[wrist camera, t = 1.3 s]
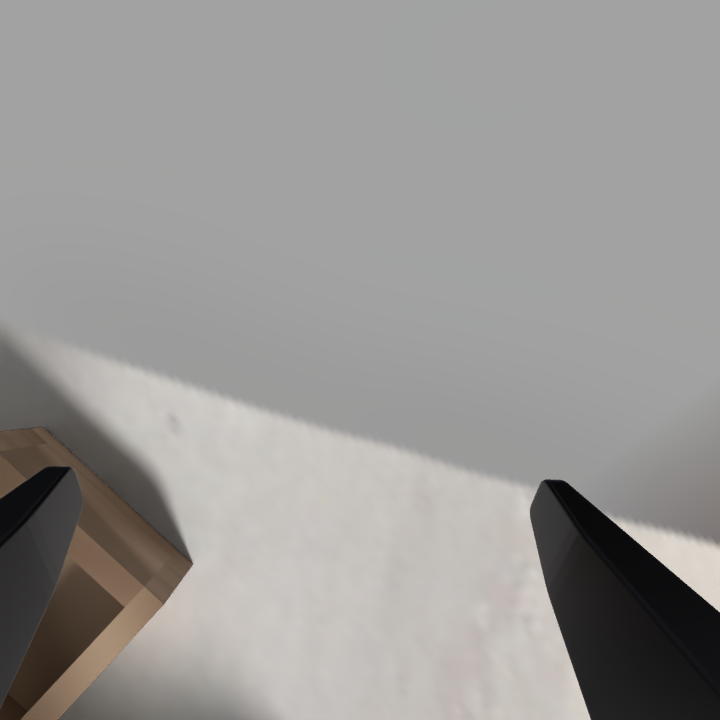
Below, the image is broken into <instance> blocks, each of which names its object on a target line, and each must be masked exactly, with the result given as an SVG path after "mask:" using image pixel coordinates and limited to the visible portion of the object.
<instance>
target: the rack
mask: <svg viewBox="0 0 720 720" xmlns="http://www.w3.org/2000/svg"><path fill="white" fill-rule="evenodd" d="M47 466H70V467H72V468H73V469H74V470H75V472H76V475H77V478H78V481H79V484H80V487H81V491H82V494H83V508H82V511H81V514H80V517H79V520H78V523H77V526H76V529H75V532H74V535H73V538H72V541H71V544H70V547H69V550H68V553H67V556H66V559H65V562H64V565H63V568H62V571H61V574H60V577H59V580H58V582H57V585H56V588H55V590H54V593H53V595H52V597H51V600H50V602H49V604H48V606H47V608H46V611H45V613H44V615H43V617H42V619H41V622H40V624H39V626H38V628H37V630H36V632H35V635H34V637H33V639H32V641H31V643H30V645H29V648H28V650H27V652H26V654H25V656H24V659H23V661H22V663H21V665H20V667H19V669H18V672H17V674H16V676H15V678H14V680H13V682H12V685H11V687H10V689H9V691H8V693H7V696H6V698H5V700H4V702H3V704H2V706H1V709H0V720H58V719H59V718H60V717H61V716H62V715H63V714H64V713H65V712H66V710H67V709H68V708H69V707H70V706H71V705H72V704H73V703H74V702H75V701H76V700H77V698H78V697H79V696H80V695H81V694H82V693H83V692H84V691H85V690H86V689H87V688H88V686H89V685H90V684H91V683H92V682H93V681H94V680H95V679H96V678H97V677H98V676H99V674H100V673H101V672H102V671H103V670H104V669H105V668H106V667H107V666H108V665H109V664H110V663H111V661H112V660H113V659H114V658H115V657H116V656H117V655H118V654H119V653H120V652H121V651H122V649H123V648H124V647H125V646H126V645H127V644H128V643H129V642H130V641H131V640H132V639H133V637H134V636H135V635H136V634H137V633H138V632H139V631H140V630H141V629H142V628H143V627H144V625H145V624H146V623H147V622H148V621H149V620H150V619H151V618H152V617H153V616H154V615H155V613H156V612H157V611H158V610H159V609H160V608H161V607H162V606H163V605H164V604H165V602H166V601H167V599H168V598H169V597H170V595H171V594H172V593H173V591H174V590H175V588H176V587H177V586H178V584H179V583H180V582H181V580H182V579H183V577H184V576H185V575H186V573H187V572H188V571H189V569H190V568H191V566H192V565H193V564H192V563H191V562H190V561H189V560H188V559H187V558H186V557H185V556H184V555H182V554H181V553H180V552H179V551H178V550H177V549H176V548H175V547H174V546H173V545H172V544H170V543H169V542H168V541H167V540H166V539H165V538H164V537H163V536H162V535H161V534H160V533H158V532H157V531H156V530H155V529H154V528H153V527H152V526H151V525H150V524H149V523H148V522H146V521H145V520H144V519H143V518H142V517H141V516H140V515H139V514H138V513H137V512H136V511H134V510H133V509H132V508H131V507H130V506H129V505H128V504H127V503H126V502H125V501H124V500H122V499H121V498H120V497H119V496H118V495H117V494H116V493H115V492H114V491H113V490H112V489H110V488H109V487H108V486H107V485H106V484H105V483H104V482H103V481H102V480H101V479H100V478H98V477H97V476H96V475H95V474H94V473H93V472H92V471H91V470H90V469H89V468H88V467H86V466H85V465H84V464H83V463H82V462H81V461H80V460H79V459H78V458H77V457H76V456H74V455H73V454H72V453H71V452H70V451H69V450H68V449H67V448H66V447H65V446H64V445H62V444H61V443H60V442H59V441H58V440H57V439H56V438H55V437H54V436H53V435H52V434H50V433H49V432H48V431H47V430H46V429H45V428H44V427H38V428H29V429H19V430H9V431H0V498H2V497H3V496H4V495H6V494H7V493H9V492H10V491H12V490H13V489H15V488H16V487H17V486H19V485H20V484H22V483H23V482H25V481H26V480H27V479H29V478H30V477H32V476H33V475H35V474H36V473H38V472H39V471H40V470H42V469H43V468H45V467H47Z"/></svg>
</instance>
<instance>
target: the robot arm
mask: <svg viewBox="0 0 720 720" xmlns="http://www.w3.org/2000/svg"><path fill="white" fill-rule="evenodd" d="M82 508H83V494H82V491H81V487H80V484H79V481H78V478H77V475H76V472H75V470H74V469H73V468H72V467H70V466H47V467H45V468H43V469H42V470H40V471H39V472H38V473H36V474H35V475H33V476H32V477H30V478H29V479H27V480H26V481H25V482H23V483H22V484H20V485H19V486H17V487H16V488H15V489H13V490H12V491H10V492H9V493H7V494H6V495H4V496H3V497H2V498H0V709H1V706H2V704H3V702H4V700H5V698H6V696H7V693H8V691H9V689H10V687H11V685H12V682H13V680H14V678H15V676H16V674H17V672H18V669H19V667H20V665H21V663H22V661H23V659H24V656H25V654H26V652H27V650H28V648H29V645H30V643H31V641H32V639H33V637H34V635H35V632H36V630H37V628H38V626H39V624H40V622H41V619H42V617H43V615H44V613H45V611H46V608H47V606H48V604H49V602H50V600H51V597H52V595H53V593H54V590H55V588H56V585H57V582H58V580H59V577H60V574H61V571H62V568H63V565H64V562H65V559H66V556H67V553H68V550H69V547H70V544H71V541H72V538H73V535H74V532H75V529H76V526H77V523H78V520H79V517H80V514H81V511H82ZM530 518H531V523H532V527H533V531H534V536H535V540H536V545H537V549H538V553H539V558H540V562H541V567H542V571H543V575H544V580H545V584H546V587H547V591H548V594H549V598H550V601H551V604H552V607H553V610H554V613H555V616H556V619H557V621H558V624H559V627H560V630H561V633H562V636H563V639H564V642H565V645H566V648H567V651H568V654H569V657H570V660H571V663H572V665H573V668H574V671H575V674H576V677H577V680H578V683H579V686H580V689H581V692H582V695H583V698H584V701H585V704H586V706H587V709H588V712H589V715H590V718H591V720H720V612H719V611H717V610H716V609H715V608H714V607H713V606H711V605H710V604H709V603H708V602H707V601H706V600H704V599H703V598H702V597H701V596H700V595H699V594H697V593H696V592H695V591H694V590H693V589H691V588H690V587H689V586H688V585H687V584H686V583H684V582H683V581H682V580H681V579H680V578H679V577H677V576H676V575H675V574H674V573H673V572H671V571H670V570H669V569H668V568H667V567H666V566H664V565H663V564H662V563H661V562H660V561H659V560H657V559H656V558H655V557H654V556H653V555H651V554H650V553H649V552H648V551H647V550H646V549H644V548H643V547H642V546H641V545H640V544H639V543H637V542H636V541H635V540H634V539H633V538H631V537H630V536H629V535H628V534H627V533H626V532H624V531H623V530H622V529H621V528H620V527H619V526H617V525H616V524H615V523H614V522H613V521H611V520H610V519H609V518H608V517H607V516H606V515H604V514H603V513H602V512H601V511H600V510H599V509H597V508H596V507H595V506H594V505H593V504H591V503H590V502H589V501H588V500H587V499H585V498H584V497H583V496H582V495H581V494H579V492H577V491H576V490H575V489H574V488H573V487H571V486H570V485H569V484H568V483H566V482H565V481H563V480H544V481H542V482H541V483H540V485H539V488H538V490H537V492H536V495H535V497H534V500H533V502H532V504H531V508H530Z"/></svg>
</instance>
